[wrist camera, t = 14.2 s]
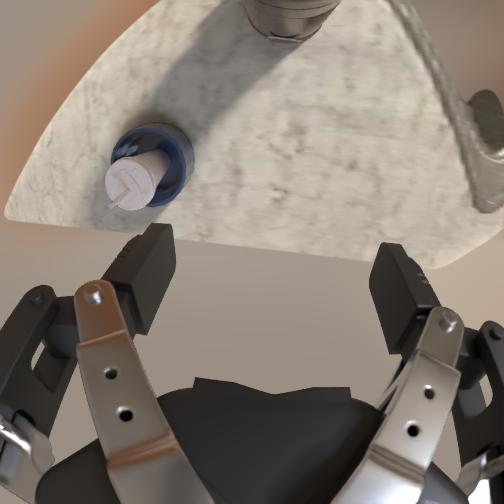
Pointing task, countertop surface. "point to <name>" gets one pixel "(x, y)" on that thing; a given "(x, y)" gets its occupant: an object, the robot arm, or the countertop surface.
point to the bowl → (167, 141)
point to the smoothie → (136, 179)
